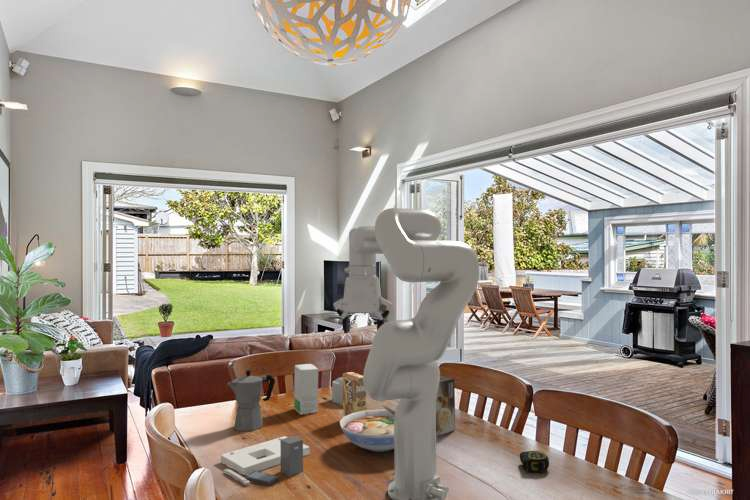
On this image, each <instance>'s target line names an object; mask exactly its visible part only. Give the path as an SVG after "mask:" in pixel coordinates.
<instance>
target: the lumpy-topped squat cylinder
mask: <svg viewBox="0 0 750 500" xmlns="http://www.w3.org/2000/svg"><path fill="white" fill-rule="evenodd" d="M331 384H332V386H331V388H332V390H331V391H332V393H331V394H332V397H331V398H332V399H331V400H332V402H333V403H336V404H338V403H340V404H339V405H343V376H341V377H337V378H336V379H335V380H332V382H331ZM367 402H368V395H367V394H366V403H367ZM367 404H368V403H367Z"/></svg>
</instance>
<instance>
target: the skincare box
mask: <svg viewBox="0 0 750 500" xmlns="http://www.w3.org/2000/svg"><path fill="white" fill-rule="evenodd" d="M293 383H294V384H293V385H294V387H293V390H294V393H293V394H294V395H293V396H294V397H293V408H294V410H295V411H296V412H297V413H298V414H299V415H301V416H304V415H310V414H309V413H311V414H317V413H318V411H319V409H318V403H319V402H318V401H319V397H318V396H319V368H318V367H316V365H313V364H312V363H304V364H295V365H294V382H293ZM316 412H317V413H316ZM303 414H304V415H303Z"/></svg>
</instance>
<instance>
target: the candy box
mask: <svg viewBox="0 0 750 500" xmlns="http://www.w3.org/2000/svg"><path fill="white" fill-rule="evenodd" d="M342 377H343V404H342V406H343V407H342V409H343V412H342V413H343V417H344V416H347V415H349V414H352V413H355V412H360V411H365V410H368V409H367V404H368V403H366V392H365V390H364V385H363V375H362V374H359V373H357V372H353V371H351V372H350V371H349V372H343V373H342Z"/></svg>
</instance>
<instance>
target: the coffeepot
mask: <svg viewBox="0 0 750 500" xmlns="http://www.w3.org/2000/svg"><path fill="white" fill-rule="evenodd" d="M251 372H252V371H251V370H250V369H247V370H245V374H246V375H244V376H240V377H237V378H234V379H233V380H232V381H231V380H230V381H229V382H227V386H229V387H230V388H231V390H232V392H233V393H234V395H235V401H236V403H237V408H236V414H235V419H234V420H235V421H234V428H233V429H234V430H236V431H237V430H240V431H239V432H252V431H253V430H254V431H257V429H258V430H260V429H262V428H263V427H264V426H263V424H264V423H263V416H262V411H261V405H260V400H261V393H262V385H263V384H262V383H265V382H269V384H268V389H267V390H266V397H264V398H262V400H263V402H267V401H270V399H271V396H272V393H273V390H274V387H275V383H276V379H275V378H274V377H273V376H272V375H271V374H266V375H260V376H256V375H255V376H254V375H251V374H252V373H251Z"/></svg>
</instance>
